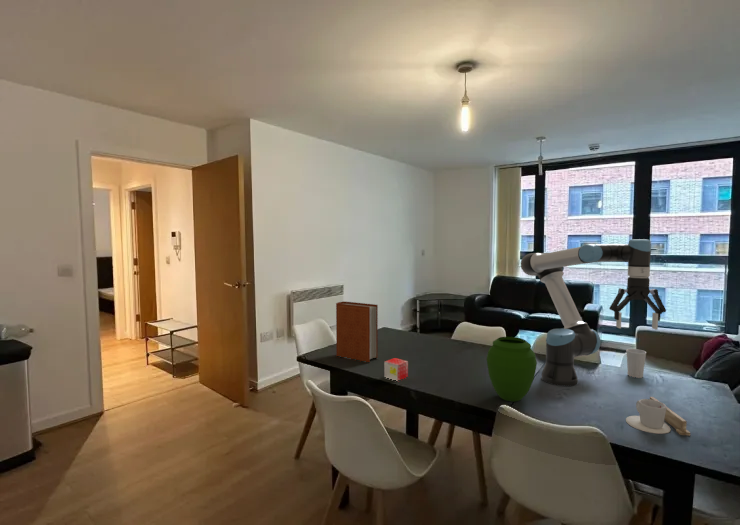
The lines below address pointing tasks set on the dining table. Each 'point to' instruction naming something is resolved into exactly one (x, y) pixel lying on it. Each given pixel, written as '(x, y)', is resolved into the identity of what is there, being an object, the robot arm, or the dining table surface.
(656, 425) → the cup
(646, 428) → the coaster
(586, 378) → the dining table surface
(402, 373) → the puzzle cube
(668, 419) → the rail
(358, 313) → the book
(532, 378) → the vase
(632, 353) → the cup
